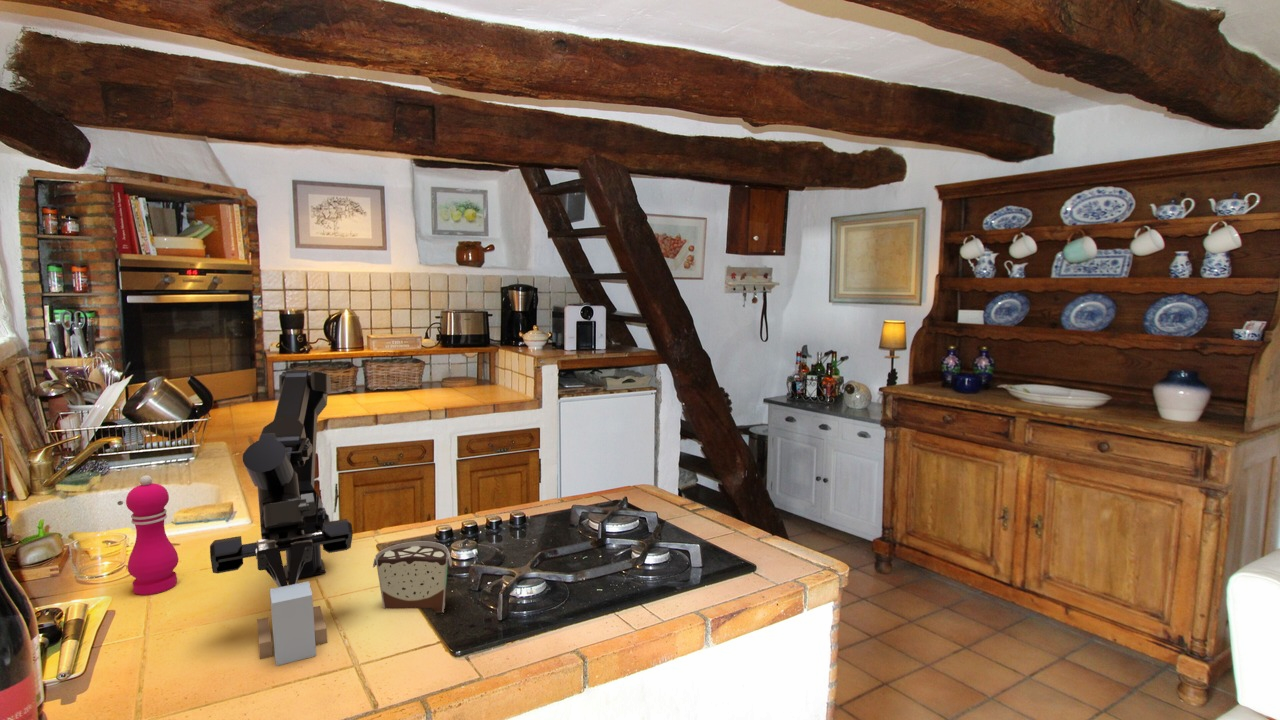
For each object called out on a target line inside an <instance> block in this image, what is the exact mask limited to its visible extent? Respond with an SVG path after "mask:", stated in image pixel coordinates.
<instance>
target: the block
mask: <svg viewBox="0 0 1280 720" xmlns="http://www.w3.org/2000/svg"><path fill="white" fill-rule="evenodd" d="M269 596H270V598H269V599H270V609H271V626H272V627H271V629H272V642H273V652H274V653H273V654H274V659H275V666H276V667H278V666H283V665H286V664H290V663H294V662H297V661H302V660H305V659H309V658H313V657H316V656H317V650H316V648H317V647H316V646H317V645H316V643H315V629H314V613H313V607H314V601H313V600H314V599H313V591H312V589H311V585H310V581H309V580H308V581H304V582H299V583H298V582H297V584H293V585H289V584H288V586H283V587H278V586H277V587H274V588H269Z"/></svg>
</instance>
